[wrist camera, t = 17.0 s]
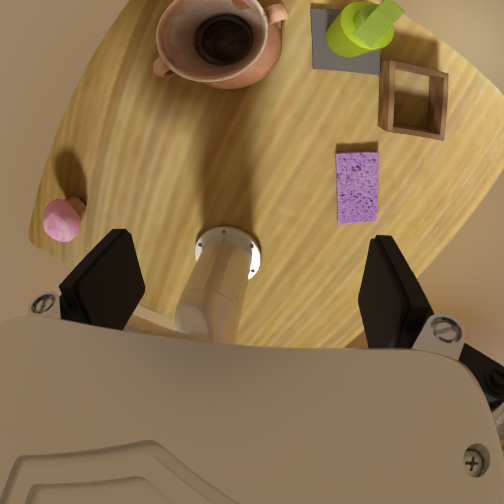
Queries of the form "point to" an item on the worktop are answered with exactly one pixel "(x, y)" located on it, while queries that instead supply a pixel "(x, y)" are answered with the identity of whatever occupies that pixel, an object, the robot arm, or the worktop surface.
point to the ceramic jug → (219, 41)
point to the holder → (435, 107)
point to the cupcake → (63, 218)
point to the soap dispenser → (363, 27)
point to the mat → (331, 60)
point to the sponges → (356, 186)
